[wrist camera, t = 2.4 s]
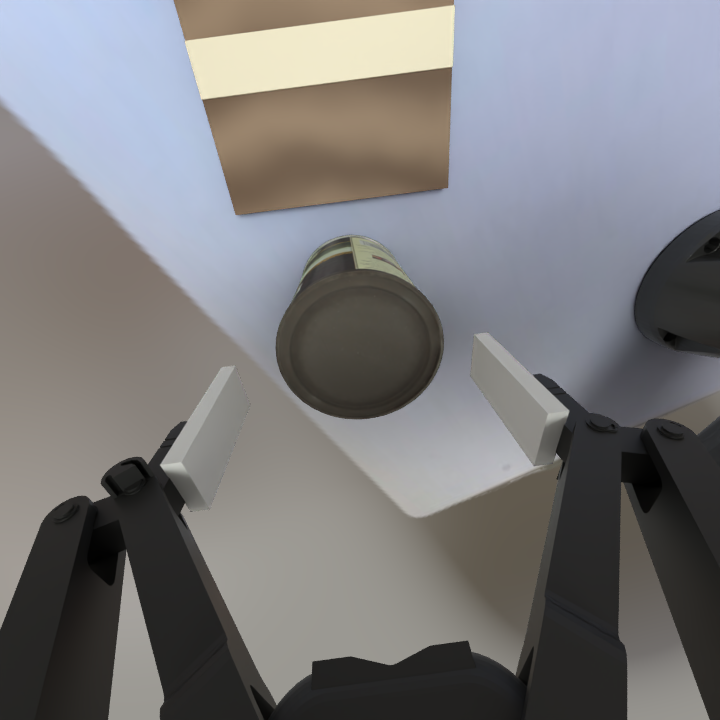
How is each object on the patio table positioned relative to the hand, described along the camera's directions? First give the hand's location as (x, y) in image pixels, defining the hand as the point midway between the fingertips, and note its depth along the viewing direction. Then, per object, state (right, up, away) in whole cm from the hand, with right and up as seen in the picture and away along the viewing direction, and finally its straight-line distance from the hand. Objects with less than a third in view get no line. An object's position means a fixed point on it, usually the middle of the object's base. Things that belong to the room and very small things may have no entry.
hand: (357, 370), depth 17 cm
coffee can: (-1, +8, +14) cm, 16 cm away
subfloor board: (-2, +22, +6) cm, 22 cm away
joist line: (-2, +22, +4) cm, 22 cm away
